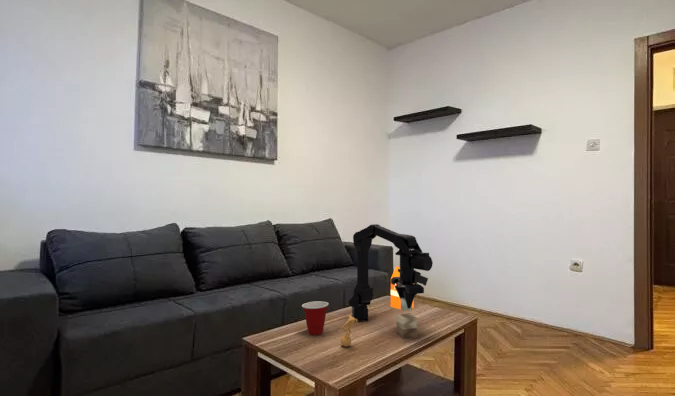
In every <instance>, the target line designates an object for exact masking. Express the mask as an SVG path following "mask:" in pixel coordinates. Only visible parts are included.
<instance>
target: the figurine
mask: <svg viewBox="0 0 675 396" xmlns="http://www.w3.org/2000/svg"><path fill="white" fill-rule="evenodd" d="M358 322H359V321H358V320H357V319H355V318H353V317H352V314H349V315H348V320H347V321H345V323H344V325H342V327H341V328H340V331H342V329H343V328H344V331H345V332H344V333H346V334H345V335H342V337H340V344H341V346H343V347H345V348H346V347H350V345H351V344H352V338H351V337H350V335H351V329H352V328H353V327H354V325H353V324H355V326H358Z"/></svg>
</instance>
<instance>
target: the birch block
mask: <svg viewBox="0 0 675 396" xmlns="http://www.w3.org/2000/svg"><path fill="white" fill-rule="evenodd" d="M395 316H396V317H395V321H396V322H395V323H396V324H395V325H396V326H397V325H398V326H399V327H400V328H402V329H411V328H417V329H418V327H417V326H418V317H416V316H415V315H413V314H412V313H410V312H409V313H400V314H399V313H398V314H395Z"/></svg>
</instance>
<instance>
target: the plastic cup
mask: <svg viewBox="0 0 675 396" xmlns="http://www.w3.org/2000/svg"><path fill="white" fill-rule="evenodd" d="M328 306H329V302H327V301H319V300H318V301H317V300H316V301H315V300H314V301H308V302H306V303H303V304H302V305H301V307H302V309H303V312H304V315H305V316H304V317H305V322H306V323H305V324H306V327H307V333H309V334H308V335H309V336H314V335H315V336H316V335H317V336H321V335H322V334H323V333H324V326H325V321H326V316H327V315H326V314H327V310H328Z"/></svg>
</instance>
